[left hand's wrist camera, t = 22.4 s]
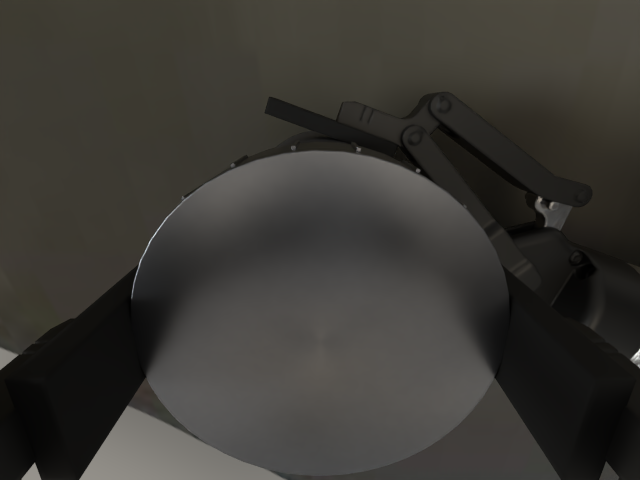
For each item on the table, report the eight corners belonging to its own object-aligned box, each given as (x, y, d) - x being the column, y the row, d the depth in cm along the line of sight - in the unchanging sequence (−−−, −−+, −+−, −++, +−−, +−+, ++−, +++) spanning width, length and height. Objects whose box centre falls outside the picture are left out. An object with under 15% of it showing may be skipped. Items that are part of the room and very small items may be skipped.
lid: (518, 159, 10) (569, 172, 8) (440, 430, 14) (461, 488, 12) (154, 120, 10) (110, 122, 8) (169, 409, 14) (141, 465, 12)
